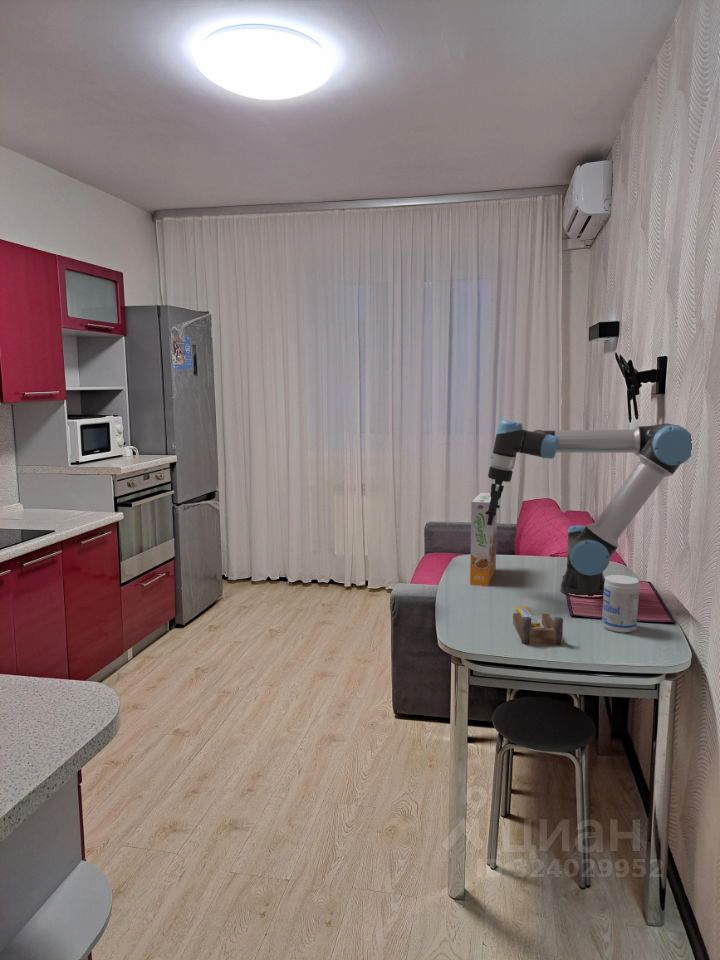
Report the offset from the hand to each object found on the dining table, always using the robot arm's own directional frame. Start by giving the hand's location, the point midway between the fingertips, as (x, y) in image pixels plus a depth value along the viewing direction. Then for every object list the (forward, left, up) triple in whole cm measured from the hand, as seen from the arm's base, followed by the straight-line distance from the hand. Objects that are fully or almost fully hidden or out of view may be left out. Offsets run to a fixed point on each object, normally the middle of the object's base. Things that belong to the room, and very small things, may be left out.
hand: (488, 530), depth 230 cm
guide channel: (-10, +34, -23) cm, 42 cm away
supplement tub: (-35, +29, -23) cm, 51 cm away
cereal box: (-2, -25, -23) cm, 34 cm away
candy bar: (-10, +21, -24) cm, 33 cm away
